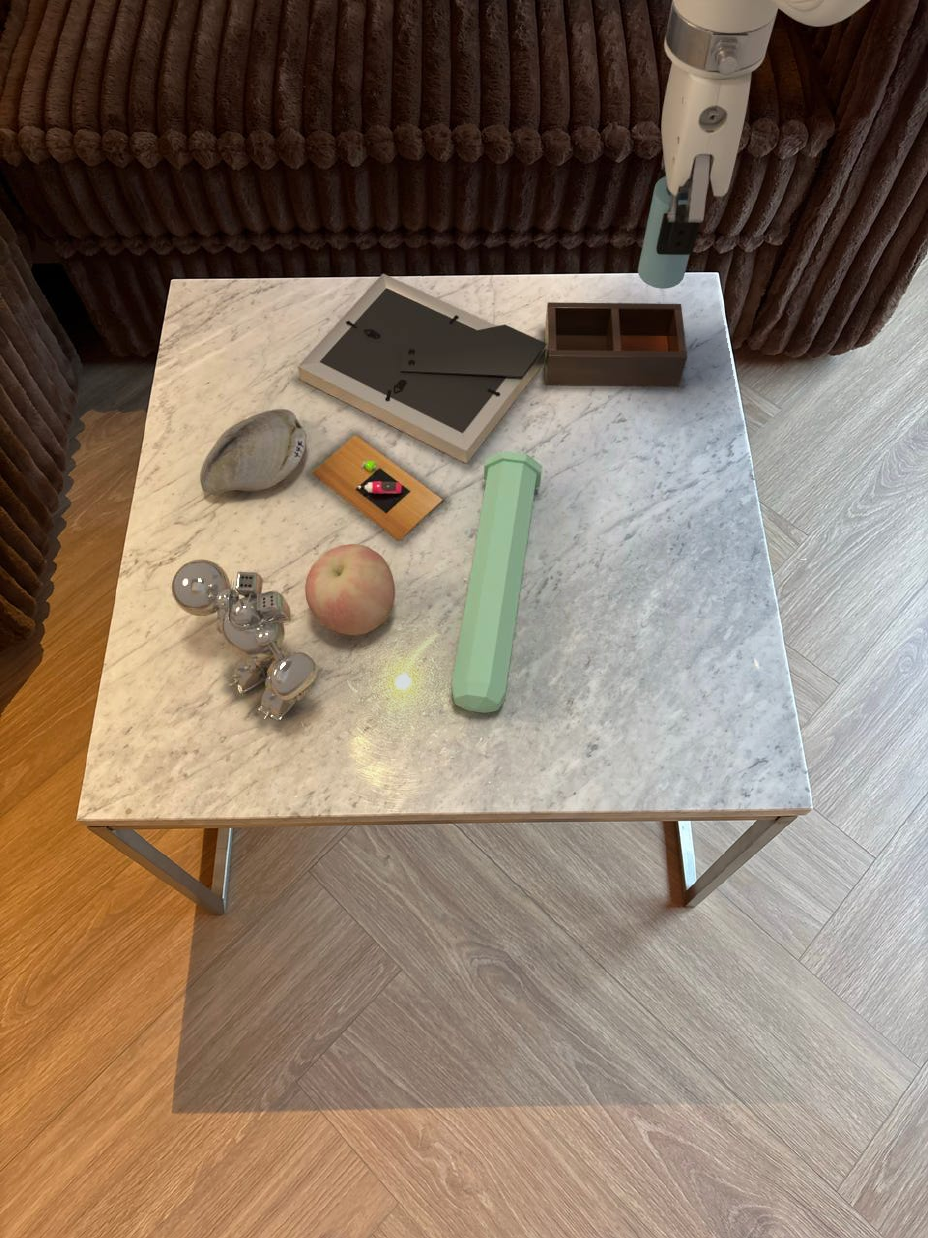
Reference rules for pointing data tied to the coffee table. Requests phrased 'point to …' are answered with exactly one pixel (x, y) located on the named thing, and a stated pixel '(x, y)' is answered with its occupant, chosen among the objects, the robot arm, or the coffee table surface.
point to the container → (495, 582)
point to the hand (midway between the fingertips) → (671, 230)
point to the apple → (350, 589)
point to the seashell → (254, 453)
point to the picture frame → (424, 366)
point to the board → (377, 487)
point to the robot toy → (248, 631)
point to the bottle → (653, 265)
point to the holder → (614, 344)
